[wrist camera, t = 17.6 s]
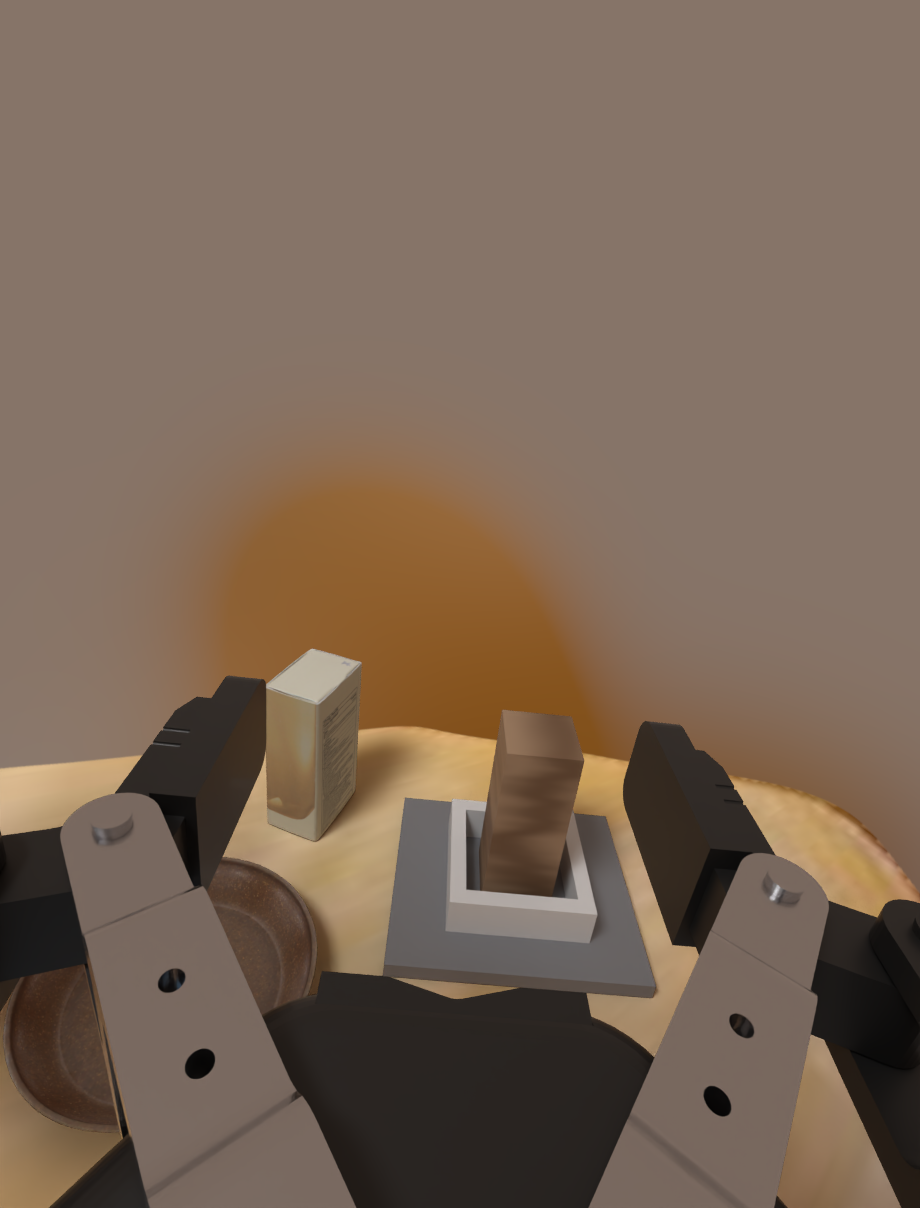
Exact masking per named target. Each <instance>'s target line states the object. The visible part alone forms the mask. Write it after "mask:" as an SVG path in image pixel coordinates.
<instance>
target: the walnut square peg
mask: <svg viewBox="0 0 920 1208" xmlns="http://www.w3.org/2000/svg"><path fill="white" fill-rule="evenodd" d="M583 764H584V758H583V755H582V751H581V748H580V744H579V741H578V737H577V734H576V730H575V727H574V724H573V720H572V717H570V716H559V715H548V714H539V713H529V712H519V711H509V710H502V715H501V720H500V727H499V733H498V738H497V744H496V750H495V756H494V762H493V768H492V774H491V780H490V786H489V792H488V798H487V804H486V810H485V816H484V822H483V828H482V834H481V840H480V846H479V874H480V891H487V892H498V893H509V894H521V895H532V896H544V897H552V894H553V890H554V886H555V882H556V877H557V873H558V869H559V865H560V861H561V856H562V852H563V848H564V844H565V840H566V836H567V831H568V827H569V823H570V819H571V815H572V810H573V806H574V802H575V798H576V794H577V789H578V785H579V781H580V777H581V773H582V769H583Z"/></svg>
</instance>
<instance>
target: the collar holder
mask: <svg viewBox="0 0 920 1208" xmlns="http://www.w3.org/2000/svg"><path fill="white" fill-rule="evenodd" d="M486 804H487V802H481V801H471V800H460V799H452V802H445V801H434V800H424V799H413V798H405V802H404V809H403V817H402V825H401V833H400V841H399V849H398V857H397V865H396V873H395V881H394V889H393V897H392V905H391V913H390V921H389V929H388V937H387V944H386V952H385V960H384V970H383V976H387V977H400V978H412V979H424V980H437V981H449V982H461V983H473V984H486V985H498V986H510V987H523V988H535V989H547V990H559V991H572V992H584V993H596V994H609V995H621V996H633V997H646V998H652V997H653V994H654V991H655V989H656V985H655V981H654V978H653V975H652V971H651V968H650V965H649V961H648V958H647V954H646V951H645V948H644V944H643V941H642V938H641V934H640V931H639V927H638V924H637V921H636V917H635V914H634V911H633V907H632V904H631V900H630V897H629V894H628V890H627V887H626V884H625V880H624V877H623V874H622V870H621V867H620V863H619V860H618V857H617V853H616V850H615V847H614V843H613V840H612V836H611V833H610V830H609V826H608V823H607V820H606V816H595V815H584V814H574V811H573V810H572V815H571V819H570V823H569V827H568V831H567V836H566V840H565V844H564V848H563V852H562V856H561V861H560V865H559V869H558V873H557V877H556V882H555V886H554V890H553V894H552V897H544V896H532V895H521V894H509V893H498V892H487V891H480V874H479V846H480V840H481V834H482V828H483V822H484V816H485V810H486Z"/></svg>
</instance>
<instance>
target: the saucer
mask: <svg viewBox="0 0 920 1208" xmlns="http://www.w3.org/2000/svg"><path fill="white" fill-rule="evenodd" d="M207 893H208V895H209V898H210V900H211V902H212V904H213V907H214V909H215V911H216V913H217V916H218V918H219V920H220V922H221V925H222V927H223V929H224V931H225V934H226V936H227V938H228V940H229V943H230V945H231V947H232V950H233V952H234V954H235V956H236V959H237V961H238V963H239V965H240V968H241V970H242V972H243V974H244V977H245V979H246V981H247V983H248V986H249V988H250V990H251V992H252V995H253V997H254V999H255V1001H256V1004H257V1006H258V1008H259V1011H260V1013H261V1015H263V1014H264V1013H266V1012H268V1011H270V1010H271V1009H273V1008H276V1007H278V1006H280V1005H282V1004H284V1003H287V1002H289V1001H292V1000H296V999H299V998H302V997H305V996H308V994H309V991H310V988H311V985H312V981H313V977H314V973H315V968H316V960H317V939H316V932H315V927H314V924H313V920H312V917H311V915H310V913H309V910H308V908H307V906H306V905H305V903H304V901H303V899H302V898H301V896H300V895H299V893H298V892H297V891H296V890H295V889H294V888H293V887H292V886H291V884H289V883H288V882H287V881H286V880H285V879H283V878H282V877H280V876H279V875H278V874H276V873H274V872H273V871H271V870H269V869H267V868H265V867H263V866H261V865H258V864H255V863H252V862H248V861H244V860H240V859H234V858H227V857H222V859H221V861H220V863H219V866H218V868H217V870H216V872H215V875H214V877H213V879H212V881H211V884H210V886H209V888H208V890H207ZM3 1042H4V1052H5V1060H6V1063H7V1067H8V1070H9V1073H10V1076H11V1078H12V1080H13V1082H14V1084H15V1086H16V1088H17V1089H18V1091H19V1093H20V1094H21V1095H22V1096H23V1097H24V1099H25V1100H26V1101H27V1102H28V1103H29V1104H30V1105H31V1106H32V1107H33V1108H34V1109H35V1110H37V1111H38V1112H40V1113H41V1114H42V1115H44V1116H45V1117H47V1118H49V1119H51V1120H53V1121H55V1122H57V1123H59V1124H62V1125H65V1126H67V1127H71V1128H75V1129H80V1130H84V1131H91V1132H108V1133H112V1132H120V1130H119V1126H118V1121H117V1117H116V1112H115V1107H114V1102H113V1097H112V1092H111V1087H110V1082H109V1078H108V1073H107V1068H106V1063H105V1059H104V1054H103V1050H102V1045H101V1041H100V1036H99V1032H98V1027H97V1023H96V1019H95V1014H94V1010H93V1005H92V1001H91V996H90V992H89V987H88V983H87V978H86V974H85V970H84V965H83V964H82V965H77V966H73V967H68V968H63V969H59V970H54V971H49V972H44V973H40V974H35V975H30V976H26V977H21V978H20V980H19V981H18V983H17V985H16V986H15V988H14V990H13V993H12V996H11V999H10V1002H9V1005H8V1009H7V1013H6V1018H5V1025H4V1035H3Z"/></svg>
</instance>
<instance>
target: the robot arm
mask: <svg viewBox="0 0 920 1208" xmlns="http://www.w3.org/2000/svg"><path fill="white" fill-rule="evenodd" d="M163 728H164V729H163V731H160V732H159V734H158V735H157V737H156V738H155V739H154V741H153V745H150V746H149V747H148V749H147V750H146V752H145V753H144V754H143V756H142V757H141V758H140V760H139V761H138V762H137V764H136V765H135V767H134V768H133V769H132V771H131V772H130V773H129V775H128V776H127V777H126V779H125V780H124V782H123V783H122V784H121V786H120V787H119V788H118V790H117V791H116V792H115V794H111V795H107V796H103V797H100V798H98V799H95V800H93V801H91V802H89V803H87V804H85V805H83V806H82V807H80V808H79V809H77V810H76V811H75V812H74V813H73V814H72V815H71V816H70V817H69V818H68V819H67V820H66V822H65V823H64V825H63V826H61V827H58V828H52V829H47V830H39V831H32V832H25V833H18V834H11V835H4V836H1V832H0V1011H1V1010H2V1008H3V1006H4V1005H5V1003H6V1001H7V1000H8V998H9V996H10V995H11V993H12V991H13V990H14V988H15V986H16V985H17V983H18V981H19V980H20V978H21V977H26V976H30V975H35V974H40V973H44V972H49V971H54V970H59V969H63V968H68V967H73V966H77V965H82V964H83V965H84V970H85V974H86V978H87V983H88V987H89V992H90V996H91V1001H92V1005H93V1010H94V1014H95V1019H96V1023H97V1027H98V1032H99V1036H100V1041H101V1045H102V1050H103V1054H104V1059H105V1063H106V1068H107V1073H108V1078H109V1082H110V1087H111V1092H112V1097H113V1102H114V1107H115V1112H116V1117H117V1121H118V1126H119V1130H120V1135H121V1139H122V1140H121V1141H120V1142H119V1143H118V1144H117V1145H116V1146H115V1147H113V1148H112V1149H111V1150H110V1151H109V1152H108V1153H107V1154H106V1155H105V1156H104V1157H103V1158H102V1159H101V1160H100V1161H98V1162H97V1163H96V1164H95V1165H94V1166H93V1167H92V1168H91V1169H90V1170H89V1171H88V1172H87V1173H86V1174H85V1175H83V1176H82V1177H81V1178H80V1179H79V1180H78V1181H77V1182H76V1183H75V1184H74V1185H73V1186H72V1187H71V1188H70V1189H68V1190H67V1191H66V1192H65V1193H64V1194H63V1195H62V1196H61V1197H60V1198H59V1199H58V1200H57V1201H56V1202H55V1203H53V1204H52V1205H51V1206H50V1207H49V1208H787V1207H786V1205H785V1204H784V1203H783V1202H782V1201H781V1200H780V1199H779V1197H778V1196H777V1191H778V1187H779V1182H780V1177H781V1172H782V1168H783V1163H784V1158H785V1153H786V1149H787V1144H788V1139H789V1134H790V1130H791V1125H792V1120H793V1115H794V1111H795V1106H796V1101H797V1096H798V1092H799V1087H800V1082H801V1077H802V1073H803V1068H804V1063H805V1058H806V1054H807V1049H808V1044H809V1040H810V1035H814V1036H816V1037H819V1038H821V1039H824V1040H825V1042H826V1045H827V1047H828V1049H829V1051H830V1053H831V1056H832V1058H833V1060H834V1062H835V1064H836V1066H837V1069H838V1071H839V1073H840V1075H841V1077H842V1079H843V1082H844V1084H845V1086H846V1088H847V1090H848V1093H849V1095H850V1097H851V1099H852V1101H853V1103H854V1106H855V1108H856V1110H857V1112H858V1114H859V1116H860V1119H861V1121H862V1123H863V1125H864V1127H865V1129H866V1132H867V1134H868V1136H869V1138H870V1140H871V1143H872V1145H873V1147H874V1149H875V1151H876V1153H877V1156H878V1158H879V1160H880V1162H881V1164H882V1166H883V1169H884V1171H885V1173H886V1175H887V1177H888V1180H889V1182H890V1184H891V1186H892V1188H893V1190H894V1193H895V1195H896V1197H897V1199H898V1201H899V1203H900V1206H901V1208H920V903H917V902H914V901H909V900H900V899H899V900H892V901H889V902H888V903H886V904H885V906H884V907H883V909H882V911H881V912H880V914H879V916H878V918H877V917H874V916H871V915H868V914H865V913H862V912H859V911H856V910H853V909H851V908H848V907H845V906H842V905H839V904H836V903H833V902H831V901H828V899H827V896H826V894H825V892H824V891H823V889H822V887H821V886H820V885H819V884H818V882H817V881H816V880H815V879H814V878H813V877H812V876H811V875H810V874H808V873H807V872H806V871H805V870H803V869H802V868H800V867H799V866H797V865H796V864H794V863H792V862H790V861H788V860H786V859H784V858H781V857H778V856H776V855H775V854H774V852H773V850H772V849H771V847H770V845H769V844H768V842H767V840H766V839H765V837H764V835H763V834H762V832H761V830H760V829H759V827H758V825H757V824H756V822H755V820H754V819H753V817H752V815H751V814H750V812H749V810H748V809H747V807H746V805H743V800H742V799H741V797H740V795H739V794H738V792H737V790H734V785H733V784H732V782H731V780H730V779H729V777H728V775H727V774H726V772H725V770H724V769H723V767H722V766H720V765H719V764H718V763H717V762H716V761H715V760H713V758H711V757H710V756H709V755H708V754H707V753H706V752H705V751H700V750H695V749H694V746H693V745H692V743H691V741H690V739H689V737H688V736H687V734H686V732H685V730H684V729H683V727H682V726H680V725H676V724H666V723H657V722H647V721H645V722H643V723H642V725H641V726H640V729H639V732H638V735H637V738H636V742H635V745H634V748H633V752H632V755H631V758H630V762H629V765H628V768H627V772H626V775H625V779H624V785H623V800H624V806H625V810H626V813H627V815H628V818H629V821H630V824H631V827H632V830H633V833H634V836H635V839H636V841H637V844H638V847H639V850H640V853H641V856H642V859H643V862H644V864H645V867H646V870H647V873H648V876H649V879H650V882H651V885H652V888H653V890H654V893H655V896H656V899H657V902H658V905H659V908H660V911H661V914H662V916H663V919H664V922H665V925H666V928H667V931H668V934H669V937H670V940H671V942H672V945H679V946H690V947H696V948H697V951H698V954H699V958H698V960H697V962H696V965H695V967H694V969H693V971H692V974H691V976H690V978H689V981H688V983H687V985H686V987H685V990H684V992H683V994H682V997H681V999H680V1001H679V1003H678V1006H677V1008H676V1010H675V1013H674V1015H673V1017H672V1019H671V1022H670V1024H669V1026H668V1028H667V1031H666V1033H665V1035H664V1038H663V1040H662V1042H661V1044H660V1047H659V1049H658V1051H657V1054H656V1056H655V1058H654V1057H653V1056H652V1055H651V1054H650V1053H649V1052H648V1051H647V1050H646V1049H645V1048H644V1047H642V1046H641V1045H640V1044H638V1043H637V1042H636V1041H634V1040H633V1039H632V1038H630V1037H629V1036H628V1035H626V1034H624V1033H623V1032H621V1031H619V1030H618V1029H616V1028H615V1027H613V1026H611V1025H609V1024H607V1023H604V1022H602V1021H600V1020H598V1019H595V1018H593V1017H591V1014H590V1009H589V1004H588V999H587V994H586V993H583V992H571V991H559V990H547V989H534V988H517V989H512V990H507V991H502V992H496V993H491V994H486V995H481V996H475V997H470V998H465V999H452V998H448V997H445V996H442V995H439V994H436V993H434V992H431V991H428V990H425V989H422V988H419V987H416V986H414V985H411V984H408V983H405V982H402V981H399V980H396V979H393V978H391V977H387V976H374V975H362V974H350V973H338V972H325V971H322V973H321V978H320V983H319V988H318V992H317V994H316V995H310V996H305V997H302V998H299V999H296V1000H292V1001H289V1002H287V1003H284V1004H282V1005H280V1006H278V1007H276V1008H273V1009H271V1010H270V1011H268V1012H266V1013H264V1014H263V1015H261V1013H260V1011H259V1008H258V1006H257V1004H256V1001H255V999H254V997H253V995H252V992H251V990H250V988H249V986H248V983H247V981H246V979H245V977H244V974H243V972H242V970H241V968H240V965H239V963H238V961H237V959H236V956H235V954H234V952H233V950H232V947H231V945H230V943H229V940H228V938H227V936H226V934H225V931H224V929H223V927H222V925H221V922H220V920H219V918H218V916H217V913H216V911H215V909H214V907H213V904H212V902H211V900H210V898H209V895H208V893H207V890H208V888H209V886H210V884H211V881H212V879H213V877H214V875H215V872H216V870H217V868H218V866H219V863H220V861H221V859H222V857H223V854H224V852H225V850H226V847H227V845H228V843H229V841H230V838H231V836H232V834H233V832H234V829H235V827H236V825H237V823H238V820H239V818H240V816H241V814H242V811H243V809H244V807H245V805H246V802H247V800H248V798H249V796H250V793H251V791H252V789H253V787H254V784H255V782H256V780H257V778H258V775H259V773H260V771H261V768H262V765H263V761H264V756H265V751H266V683H265V681H264V680H263V679H254V678H245V677H235V676H227V677H225V679H224V680H223V682H222V683H221V685H220V686H219V688H218V689H217V691H216V692H215V694H214V695H213V697H212V698H203V697H196V698H194V699H193V700H191V701H190V702H188V703H187V704H185V705H183V706H182V707H180V708H179V709H177V710H176V711H175V712H174V713H173V715H172V716H171V718H170V719H169V720H168V722H167V723H166V724H165V726H164V727H163Z"/></svg>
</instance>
